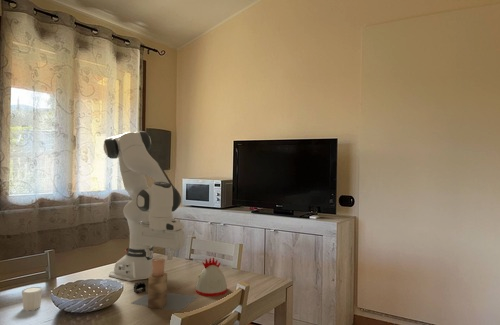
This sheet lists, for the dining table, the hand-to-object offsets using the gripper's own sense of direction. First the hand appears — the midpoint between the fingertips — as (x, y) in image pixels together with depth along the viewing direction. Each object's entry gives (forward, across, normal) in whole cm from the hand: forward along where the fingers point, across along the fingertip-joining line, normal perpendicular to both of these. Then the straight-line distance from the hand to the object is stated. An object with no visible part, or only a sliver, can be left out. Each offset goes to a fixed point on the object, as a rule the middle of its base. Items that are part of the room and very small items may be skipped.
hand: (159, 258), depth 144 cm
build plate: (+20, -15, +11) cm, 27 cm away
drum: (+7, 0, 0) cm, 7 cm away
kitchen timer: (+19, +14, +22) cm, 32 cm away
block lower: (+19, 0, 0) cm, 19 cm away
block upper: (+13, 0, 0) cm, 13 cm away
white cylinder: (+20, -44, -18) cm, 52 cm away
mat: (+19, 0, +6) cm, 20 cm away
